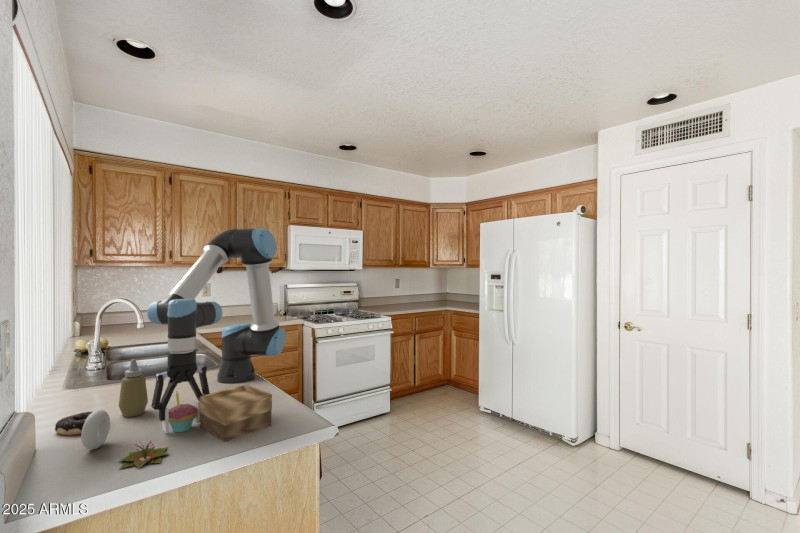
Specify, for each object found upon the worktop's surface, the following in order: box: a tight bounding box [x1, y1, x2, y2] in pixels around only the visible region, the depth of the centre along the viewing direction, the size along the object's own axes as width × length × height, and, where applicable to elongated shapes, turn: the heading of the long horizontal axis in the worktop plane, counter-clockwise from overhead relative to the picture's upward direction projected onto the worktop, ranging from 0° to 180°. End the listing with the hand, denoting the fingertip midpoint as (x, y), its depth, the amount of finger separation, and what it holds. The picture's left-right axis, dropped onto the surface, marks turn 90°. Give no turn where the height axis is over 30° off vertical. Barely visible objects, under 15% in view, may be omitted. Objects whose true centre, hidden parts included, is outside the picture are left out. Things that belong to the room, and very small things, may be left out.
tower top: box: [200, 384, 273, 426], centre depth 122 cm, size 15×15×5 cm
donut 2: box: [80, 409, 111, 451], centre depth 107 cm, size 10×4×10 cm, turn 12°
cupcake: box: [168, 390, 198, 433], centre depth 119 cm, size 9×8×12 cm
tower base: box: [199, 410, 273, 443], centre depth 122 cm, size 15×15×5 cm
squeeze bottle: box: [118, 358, 149, 418], centre depth 130 cm, size 8×8×18 cm
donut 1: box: [54, 411, 93, 436], centre depth 119 cm, size 11×12×4 cm
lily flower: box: [117, 440, 170, 470], centre depth 101 cm, size 12×12×5 cm
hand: (181, 426), depth 119 cm, fingers closed on cupcake, 8 cm apart
